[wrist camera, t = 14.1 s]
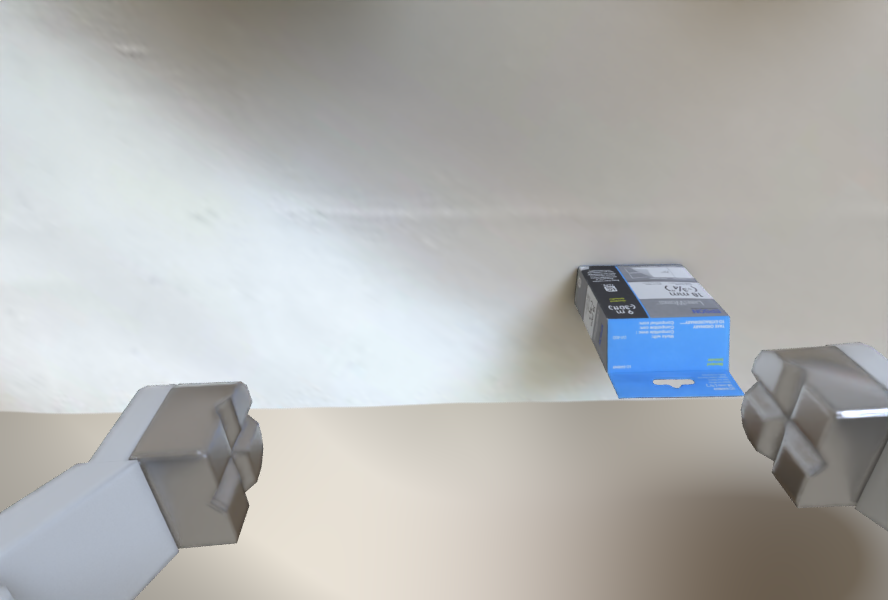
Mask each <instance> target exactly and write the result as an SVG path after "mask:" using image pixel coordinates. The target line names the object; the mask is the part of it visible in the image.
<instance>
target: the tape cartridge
mask: <svg viewBox="0 0 888 600" xmlns="http://www.w3.org/2000/svg"><path fill="white" fill-rule="evenodd" d="M575 305H576V307H577V309H578V312H579V314H580V316H581V318H582V320H583V322H584V324H585V326H586V328H587V331H588V333H589V335H590V337H591V339H592V341H593V343H594V346H595V348H596V350H597V352H598V354H599V356H600V359H601V361H602V363H603V366H604V368H605V370H606V372H607V373H608V375H609V377H610V380H611V382H612V384H613V386H614V389H615V391H616V393H617V395H618V398H619V399H624V398H688V397H735V396H744V393H743V392H742V390H741V389H740V387H739V386H738V385H737V383H736V381H735V380H734V378H733V377H732V376H731V374H730V372H729V336H730V316H729V315H728V314H727V313H726V312H725V311H724V310H723V309H722V307H721V306H720V305H719V304H718V303H717V302H716V301H715V300H714V299H713V298H712V297H711V295H710V294H709V293H708V292H707V291H706V290H705V289H704V288H703V287H702V286H701V285H700V284H699V283H698V282H697V281H696V279H695V278H694V277H693V276H692V275H691V274H690V273H689V272H688V271H687V270H686V269H685V268H684V267H683V266H682V265H648V266H584V267H579V269H578V276H577V286H576V295H575ZM666 379H675V380H677V379H690V380H693V381H694V382H695V383H694V384H689V385H681V387H680V388H674V387H672V386H670V385H655V384H654V383H653V380H666Z"/></svg>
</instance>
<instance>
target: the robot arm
mask: <svg viewBox="0 0 888 600" xmlns="http://www.w3.org/2000/svg"><path fill="white" fill-rule="evenodd" d="M752 373H753V375H754V376H755V378H756V380H757V381H758V382H756V383H755V384H754V385H753V386H752V387H751V388H750V389H749V390H748V391H747V392H745V394H744V399H743V403H742V407H741V414H742V424H743V428H744V430H745V433H746V435H747V438H748V439H749V441H750V442H751V444H752V445H753V447H754V448H755V450H756V451H757V452H759V453H761V454H763V455H764V456H766V457H768V458H769V459H771V460H773V461H774V463H773V469H772V474H773V475H774V476H775V478H776V479H777V481H778V482H779V483H780V485H781V486H782V488H783V489H784V490H785V491H786V493H787V494H788V496H789V497H790V499H791V500H792V501H793V503H794V504H795V505H796V507H797V508H806V507H834V506H856V507H855V509H856V510H858V511H859V512H861V513H862V514H863V515H865V516H866V517H868V518H869V519H871V520H872V521H874V522H875V523H876V524H878V525H879V526H881V527H882V528H884V529H885V530H887V531H888V359H887V358H885V357H884V356H883V355H882V354H880V353H879V352H878V351H877V350H875V349H874V348H873V347H872V346H869V345H866V344H863V343H860V342H855V343H843V344H832V345H826V346H819V347H804V348H789V349H773V350H762V351H761V352H760V353H759V354H758V356H757V357H756V358H755V361H754V364H753V367H752ZM251 404H252V399H251V396H250V393H249V390H248V387H247V385H245V384H244V383H242V382H241V381H240V382H214V383H189V384H178V385H175V384H170V385H151V386H146V387H143V388H141V389H139V390H138V391H137V393H136V394H135V396H134V397H133V398H132V400H131V401H130V403H129V404H128V406H127V407H126V408H125V410H124V411H123V413H122V414H121V416H120V417H119V419H118V420H117V422H116V423H115V424H114V426H113V427H112V429H111V430H110V432H109V433H108V434H107V436H106V437H105V439H104V440H103V442H102V443H101V445H100V446H99V448H98V449H97V450H96V452H95V453H94V455H93V456H92V458H91V459H90V460H89V462H88V463H78V464H76V465H74V466H72V467H71V468H69V469H68V470H66V471H64V472H63V473H61V474H60V475H58V476H57V477H55V478H53V479H52V480H50V481H49V482H47V483H46V484H44V485H42V486H41V487H39V488H38V489H36V490H35V491H33V492H32V493H30V494H28V495H27V496H25V497H24V498H22V499H21V500H19V501H17V502H16V503H14V504H13V505H11V506H9V507H8V508H6V509H5V510H3V511H2V512H0V600H134V599H135V598H136V596H138V595H139V593H140V592H141V591H142V590H143V589H144V588H145V587H146V586H147V585H148V584H149V583H150V582H151V581H152V580H153V579H154V578H155V576H156V575H157V574H158V573H159V572H160V571H161V570H162V569H163V568H164V567H165V566H166V565H167V564H168V563H169V562H170V561H171V560H172V559H173V557H174V556H175V555H176V554H177V553H178V552H179V550H178V549H179V548H190V547H201V546H212V545H222V544H234V543H237V541H238V538H239V535H240V532H241V529H242V526H243V523H244V520H245V517H246V514H247V511H248V508H249V503H248V500H247V497H246V494H245V492H246V491H247V490H248V489H249V488H251V487H252V486H253V485H254V484H255V483H256V482H257V480H258V477H259V474H260V470H261V465H262V456H263V443H262V434H261V430H260V427H259V424H258V422H257V421H255V420H254V419H253V418H252V417H250V416H249V415H248V411H249V409H250V406H251Z"/></svg>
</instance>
